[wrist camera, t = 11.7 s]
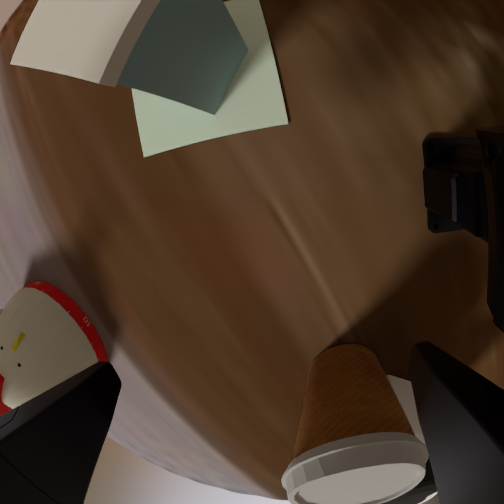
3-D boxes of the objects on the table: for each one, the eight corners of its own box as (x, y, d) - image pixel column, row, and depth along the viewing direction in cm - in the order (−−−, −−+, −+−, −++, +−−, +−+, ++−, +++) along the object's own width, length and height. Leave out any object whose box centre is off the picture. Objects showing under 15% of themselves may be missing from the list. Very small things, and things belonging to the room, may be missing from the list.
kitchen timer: (116, 329, 25) (26, 443, 11) (101, 396, 30) (46, 480, 16) (22, 258, 24) (-76, 323, 10) (24, 336, 29) (-40, 399, 15)
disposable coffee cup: (272, 349, 23) (253, 480, 12) (385, 310, 20) (436, 437, 9) (309, 413, 25) (306, 519, 14) (400, 385, 23) (429, 489, 12)
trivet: (257, -4, 13) (257, -6, 13) (288, 123, 17) (288, 123, 16) (126, 38, 15) (125, 37, 15) (145, 157, 19) (144, 157, 18)
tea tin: (250, 49, 15) (189, -64, 4) (215, 117, 17) (98, 83, 6) (182, 29, 15) (74, -54, 4) (149, 92, 17) (9, 64, 5)
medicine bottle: (343, 416, 25) (350, 518, 14) (386, 372, 22) (416, 485, 11) (392, 426, 25) (408, 515, 14) (434, 387, 23) (468, 480, 11)
